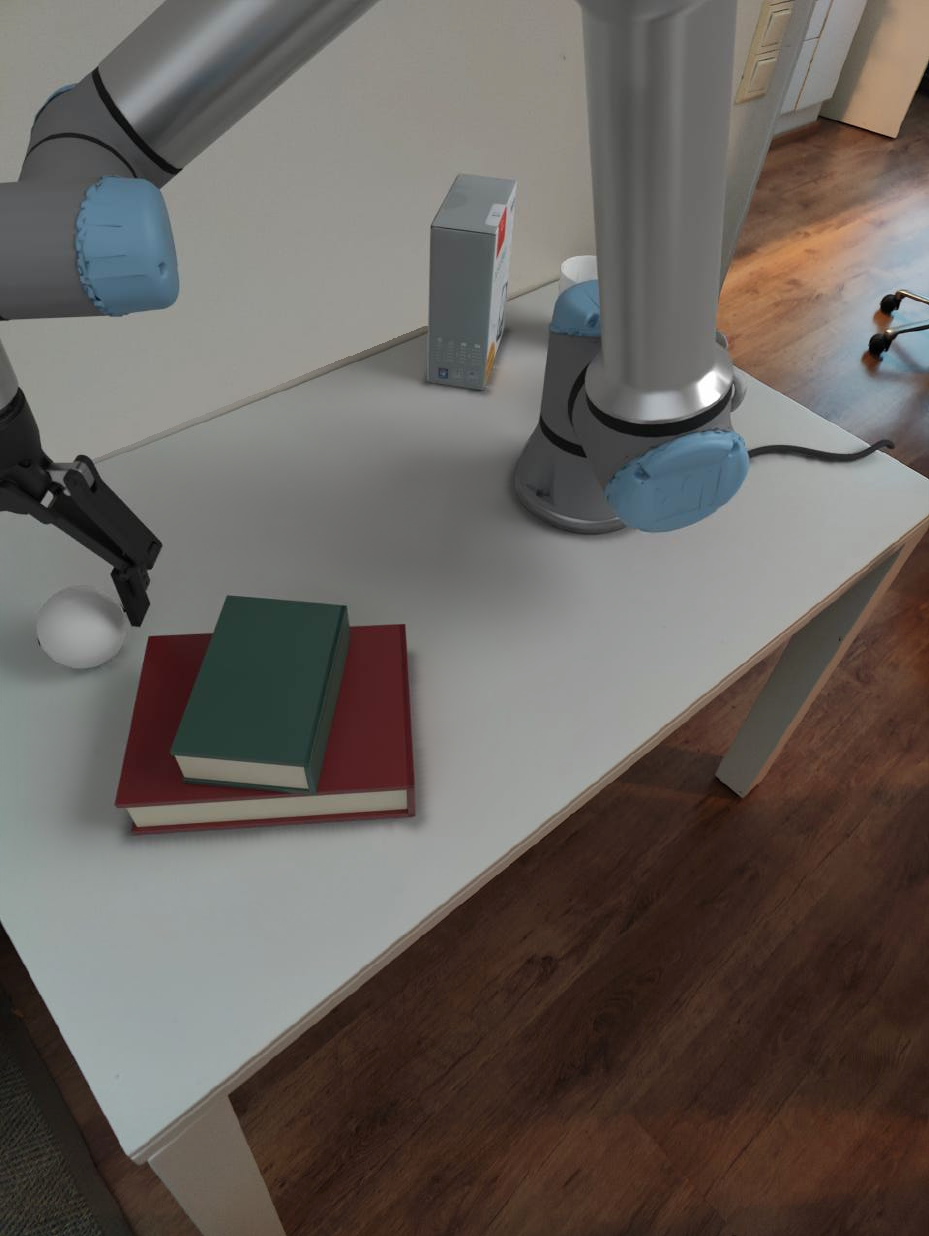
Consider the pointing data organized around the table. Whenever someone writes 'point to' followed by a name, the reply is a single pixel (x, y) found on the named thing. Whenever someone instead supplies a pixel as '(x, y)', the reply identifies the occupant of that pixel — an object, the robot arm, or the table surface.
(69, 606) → the white smooth round ovoid
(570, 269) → the white cup
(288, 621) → the small book
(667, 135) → the robot arm
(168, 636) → the big book
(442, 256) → the hard drive box
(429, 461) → the table surface
